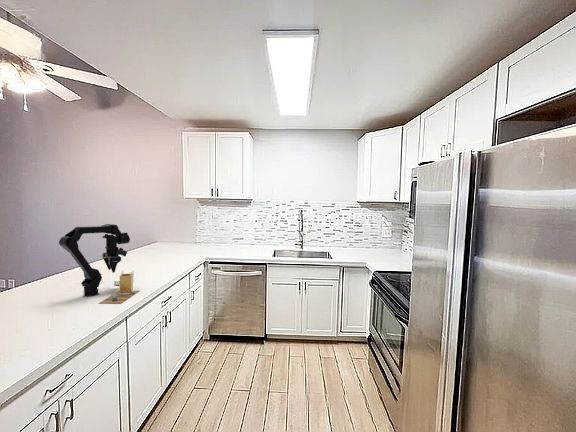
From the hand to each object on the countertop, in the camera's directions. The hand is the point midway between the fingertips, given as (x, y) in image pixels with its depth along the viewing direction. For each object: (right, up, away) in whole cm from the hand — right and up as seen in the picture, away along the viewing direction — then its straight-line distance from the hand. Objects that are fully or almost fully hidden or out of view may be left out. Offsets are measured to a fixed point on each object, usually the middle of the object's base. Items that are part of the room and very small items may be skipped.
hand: (111, 271), depth 209 cm
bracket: (-3, -12, +22) cm, 26 cm away
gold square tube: (+11, -11, -5) cm, 17 cm away
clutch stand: (+11, -14, -12) cm, 22 cm away
